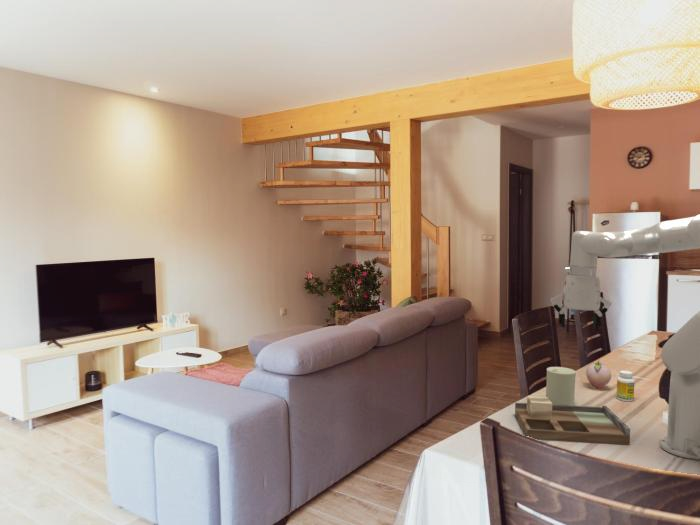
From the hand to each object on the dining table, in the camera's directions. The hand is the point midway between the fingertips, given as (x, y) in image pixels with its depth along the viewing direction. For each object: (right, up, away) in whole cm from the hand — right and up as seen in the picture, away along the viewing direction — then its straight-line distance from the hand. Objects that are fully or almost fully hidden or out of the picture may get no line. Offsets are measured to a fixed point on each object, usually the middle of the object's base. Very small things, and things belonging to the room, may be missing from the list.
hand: (578, 327), depth 164 cm
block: (-13, -26, -2) cm, 29 cm away
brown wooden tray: (-6, -29, -6) cm, 30 cm away
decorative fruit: (+22, -27, +35) cm, 49 cm away
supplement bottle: (+25, -28, +22) cm, 44 cm away
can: (+1, -28, +16) cm, 32 cm away
